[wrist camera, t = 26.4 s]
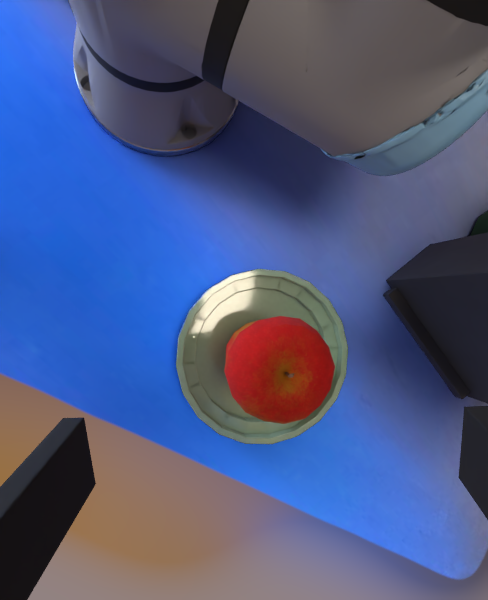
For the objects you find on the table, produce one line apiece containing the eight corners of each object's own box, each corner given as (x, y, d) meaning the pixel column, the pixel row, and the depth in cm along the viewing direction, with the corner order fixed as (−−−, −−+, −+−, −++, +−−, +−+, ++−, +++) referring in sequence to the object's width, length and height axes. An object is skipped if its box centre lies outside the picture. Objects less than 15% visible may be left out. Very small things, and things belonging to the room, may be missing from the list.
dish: (150, 400, 39) (148, 409, 36) (215, 246, 40) (218, 241, 37) (300, 455, 41) (310, 467, 38) (358, 308, 42) (371, 309, 39)
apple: (199, 370, 39) (209, 401, 27) (244, 295, 39) (273, 294, 28) (274, 413, 40) (314, 461, 28) (316, 340, 41) (372, 357, 29)
